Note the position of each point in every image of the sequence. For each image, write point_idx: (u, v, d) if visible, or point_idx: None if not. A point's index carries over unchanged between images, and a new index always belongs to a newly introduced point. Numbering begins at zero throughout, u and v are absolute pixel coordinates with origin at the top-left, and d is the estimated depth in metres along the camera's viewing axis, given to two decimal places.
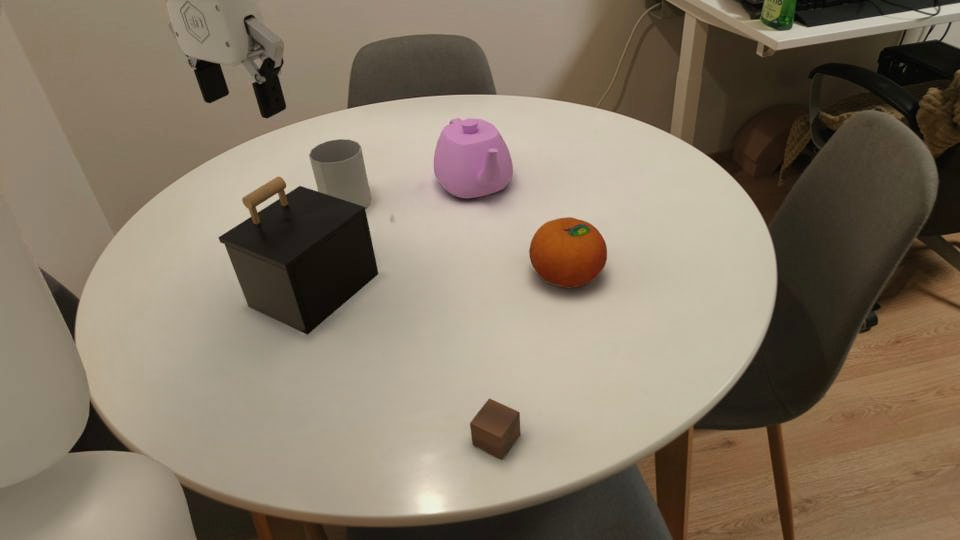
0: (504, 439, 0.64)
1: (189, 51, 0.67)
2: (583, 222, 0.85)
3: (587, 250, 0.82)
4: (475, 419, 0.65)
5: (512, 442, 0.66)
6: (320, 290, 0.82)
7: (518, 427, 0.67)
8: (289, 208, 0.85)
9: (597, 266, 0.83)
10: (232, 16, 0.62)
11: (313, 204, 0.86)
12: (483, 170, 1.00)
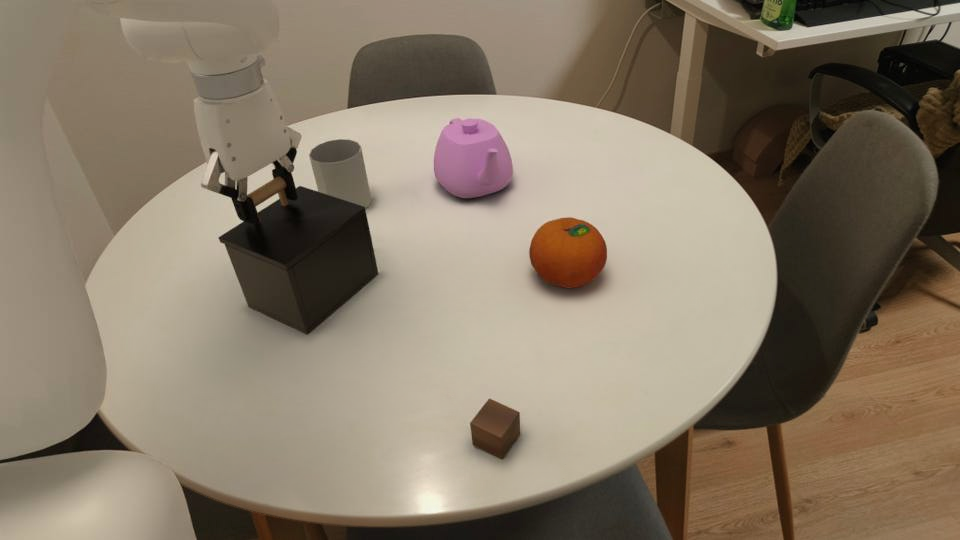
0: (504, 439, 0.64)
1: None
2: (583, 222, 0.85)
3: (587, 250, 0.82)
4: (475, 419, 0.65)
5: (512, 442, 0.66)
6: (320, 290, 0.82)
7: (518, 427, 0.67)
8: (289, 208, 0.85)
9: (597, 266, 0.83)
10: (202, 142, 0.75)
11: (313, 204, 0.86)
12: (483, 170, 1.00)
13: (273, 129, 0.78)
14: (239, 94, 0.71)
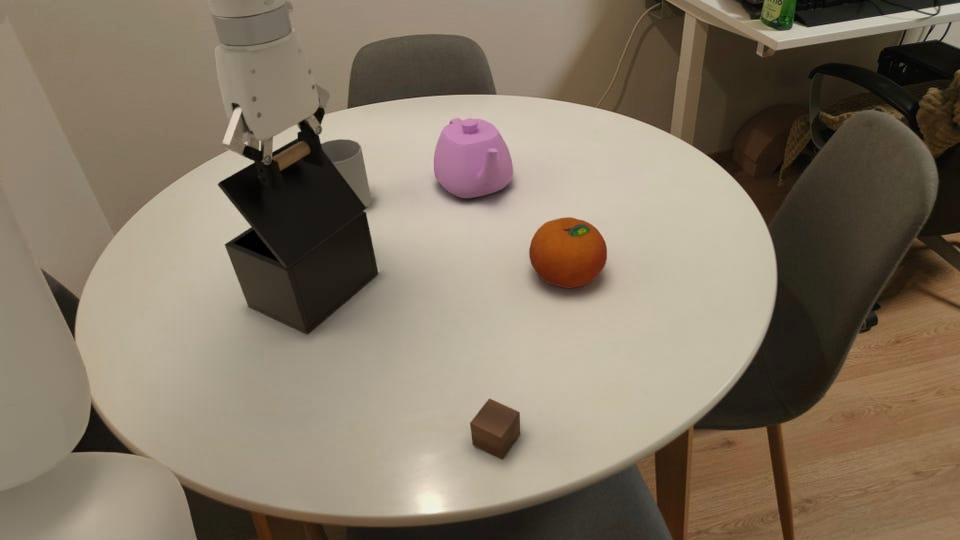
0: (504, 439, 0.64)
1: None
2: (583, 222, 0.85)
3: (587, 250, 0.82)
4: (475, 419, 0.65)
5: (512, 442, 0.66)
6: (320, 290, 0.82)
7: (518, 427, 0.67)
8: (296, 169, 0.79)
9: (597, 266, 0.83)
10: (223, 96, 0.67)
11: (320, 176, 0.81)
12: (483, 170, 1.00)
13: (301, 84, 0.70)
14: (266, 40, 0.63)
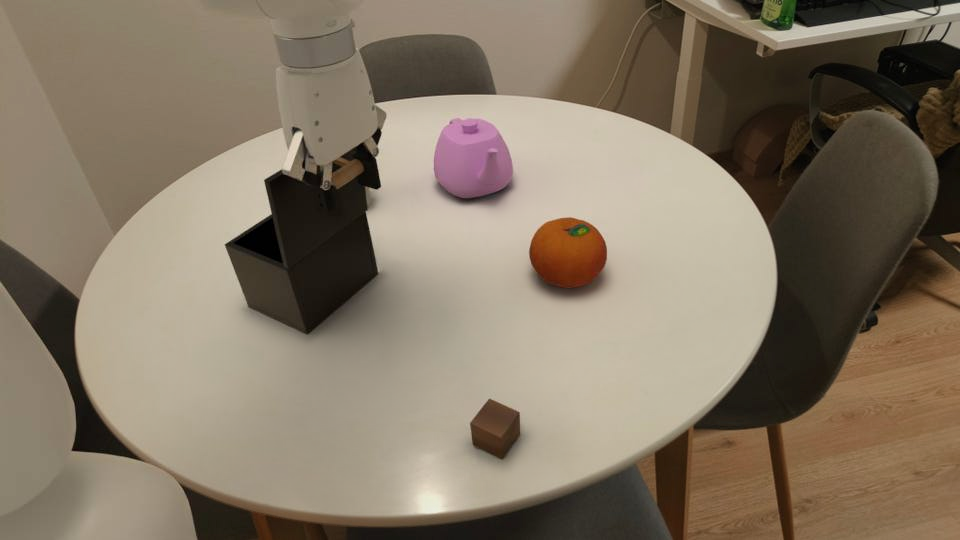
0: (504, 439, 0.64)
1: None
2: (583, 222, 0.85)
3: (587, 250, 0.82)
4: (475, 419, 0.65)
5: (512, 442, 0.66)
6: (320, 290, 0.82)
7: (518, 427, 0.67)
8: (333, 169, 0.75)
9: (597, 266, 0.83)
10: (283, 120, 0.63)
11: None
12: (483, 170, 1.00)
13: (362, 105, 0.67)
14: (332, 62, 0.60)
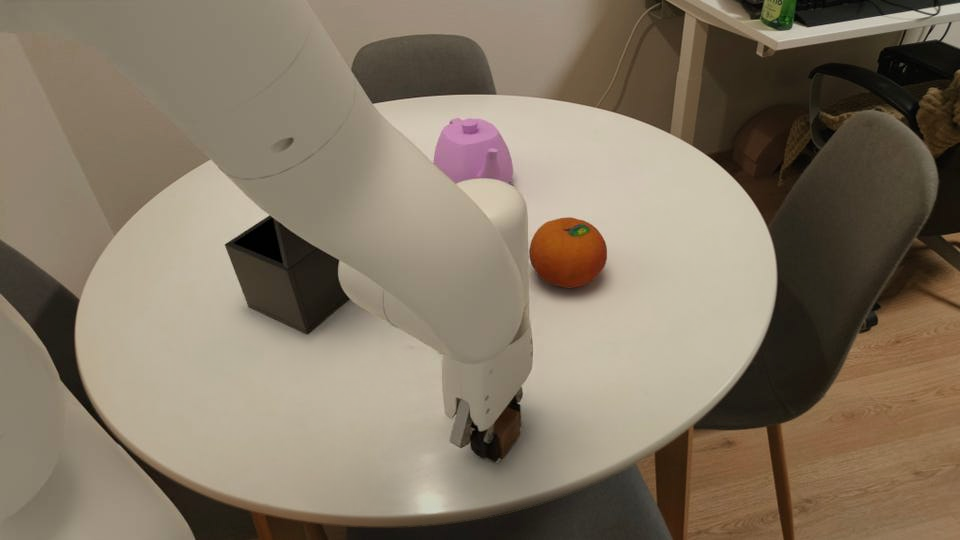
0: (504, 439, 0.64)
1: None
2: (583, 222, 0.85)
3: (587, 250, 0.82)
4: None
5: (512, 442, 0.66)
6: (320, 290, 0.82)
7: (518, 427, 0.67)
8: None
9: (597, 266, 0.83)
10: (446, 388, 0.58)
11: None
12: (483, 170, 1.00)
13: (524, 359, 0.61)
14: (511, 341, 0.54)
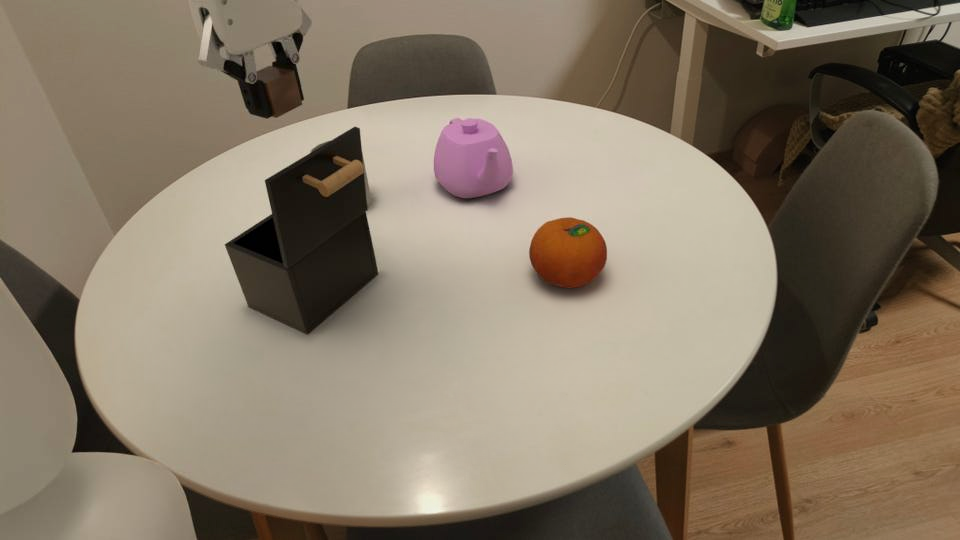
0: (273, 90, 0.65)
1: None
2: (583, 222, 0.85)
3: (587, 250, 0.82)
4: None
5: (289, 105, 0.67)
6: (320, 290, 0.82)
7: (296, 91, 0.67)
8: (333, 169, 0.75)
9: (597, 266, 0.83)
10: (189, 0, 0.58)
11: None
12: (483, 170, 1.00)
13: None
14: None
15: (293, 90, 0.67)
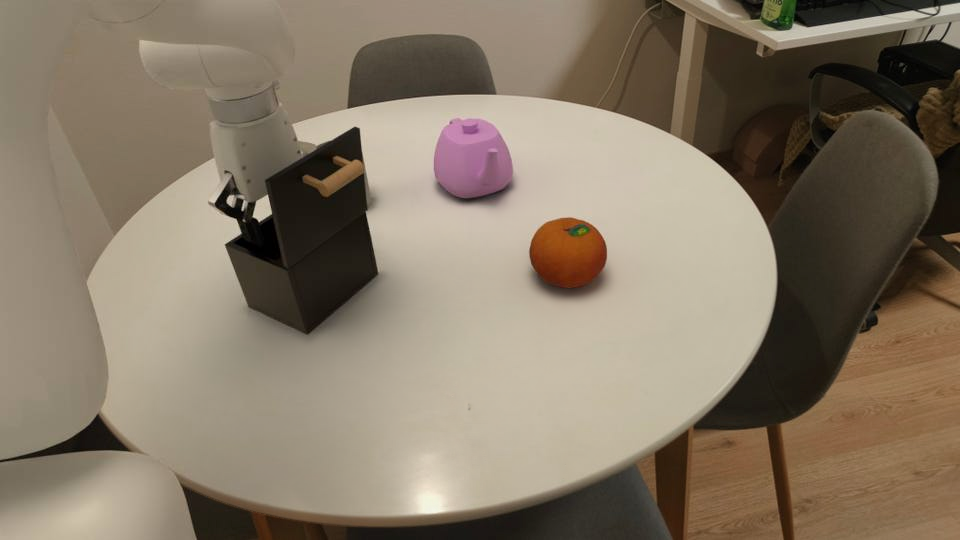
0: None
1: None
2: (583, 222, 0.85)
3: (587, 250, 0.82)
4: (278, 260, 0.88)
5: None
6: (320, 290, 0.82)
7: None
8: (333, 169, 0.75)
9: (597, 266, 0.83)
10: (217, 164, 0.75)
11: None
12: (483, 170, 1.00)
13: (287, 151, 0.79)
14: (255, 118, 0.72)
15: None
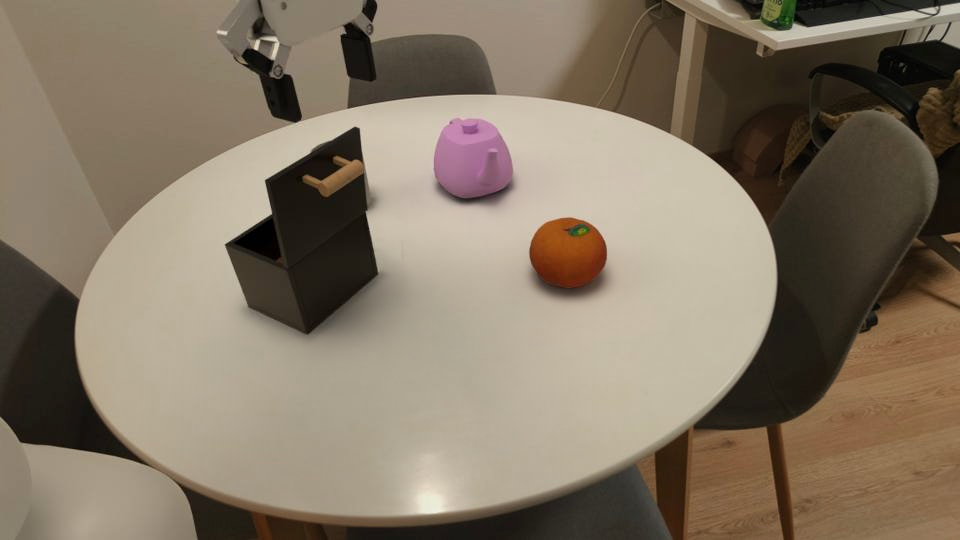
0: None
1: None
2: (583, 222, 0.85)
3: (587, 250, 0.82)
4: (278, 260, 0.88)
5: None
6: (320, 290, 0.82)
7: None
8: (333, 169, 0.75)
9: (597, 266, 0.83)
10: None
11: None
12: (483, 170, 1.00)
13: None
14: None
15: None
